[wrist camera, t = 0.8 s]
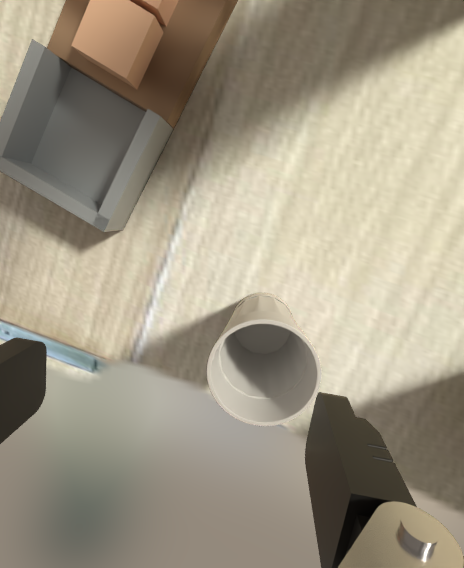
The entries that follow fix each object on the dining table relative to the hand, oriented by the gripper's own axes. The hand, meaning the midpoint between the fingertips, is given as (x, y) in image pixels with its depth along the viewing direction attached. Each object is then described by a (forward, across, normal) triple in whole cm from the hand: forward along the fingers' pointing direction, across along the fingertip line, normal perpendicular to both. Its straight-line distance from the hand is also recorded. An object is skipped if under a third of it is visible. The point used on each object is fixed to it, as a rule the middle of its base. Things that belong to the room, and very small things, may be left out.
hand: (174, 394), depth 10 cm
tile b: (+23, +12, -17) cm, 31 cm away
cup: (+26, -3, +6) cm, 26 cm away
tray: (+26, +16, -9) cm, 31 cm away
